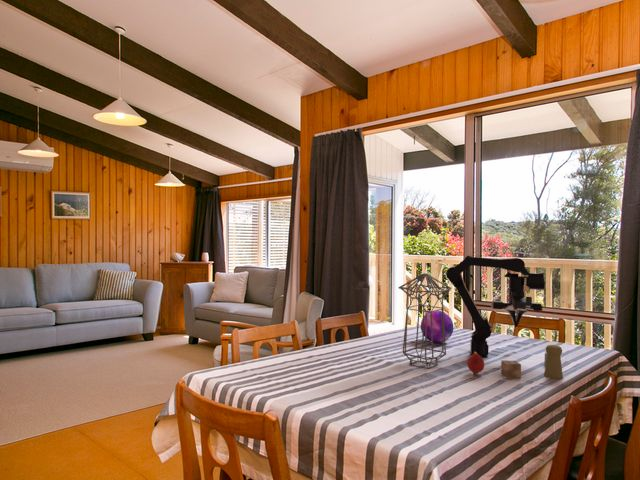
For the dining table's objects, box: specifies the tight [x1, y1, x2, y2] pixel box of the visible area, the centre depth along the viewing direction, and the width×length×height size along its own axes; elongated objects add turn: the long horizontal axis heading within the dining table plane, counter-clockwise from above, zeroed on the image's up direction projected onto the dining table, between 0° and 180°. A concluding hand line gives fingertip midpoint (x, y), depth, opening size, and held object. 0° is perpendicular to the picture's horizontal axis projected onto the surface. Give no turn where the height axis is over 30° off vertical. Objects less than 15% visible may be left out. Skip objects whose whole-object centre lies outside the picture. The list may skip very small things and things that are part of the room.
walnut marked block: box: [500, 359, 522, 380], centre depth 164 cm, size 5×5×5 cm
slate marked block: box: [544, 350, 547, 367], centre depth 181 cm, size 5×5×5 cm
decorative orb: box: [420, 310, 454, 344], centre depth 220 cm, size 15×15×15 cm
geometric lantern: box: [398, 272, 452, 370], centre depth 177 cm, size 16×16×35 cm
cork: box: [543, 344, 564, 380], centre depth 165 cm, size 6×6×11 cm
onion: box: [466, 352, 485, 375], centre depth 166 cm, size 6×6×8 cm
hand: (515, 327), depth 191 cm, fingers closed
